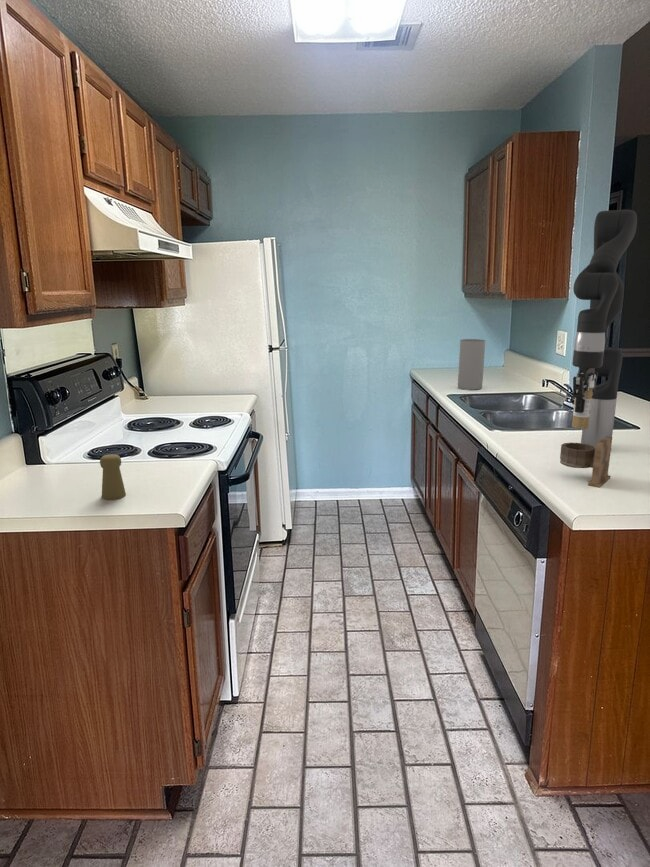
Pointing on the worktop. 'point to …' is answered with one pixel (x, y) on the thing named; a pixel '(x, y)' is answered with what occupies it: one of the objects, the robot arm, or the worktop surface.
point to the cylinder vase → (471, 364)
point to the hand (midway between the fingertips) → (582, 410)
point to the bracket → (589, 459)
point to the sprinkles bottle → (583, 418)
